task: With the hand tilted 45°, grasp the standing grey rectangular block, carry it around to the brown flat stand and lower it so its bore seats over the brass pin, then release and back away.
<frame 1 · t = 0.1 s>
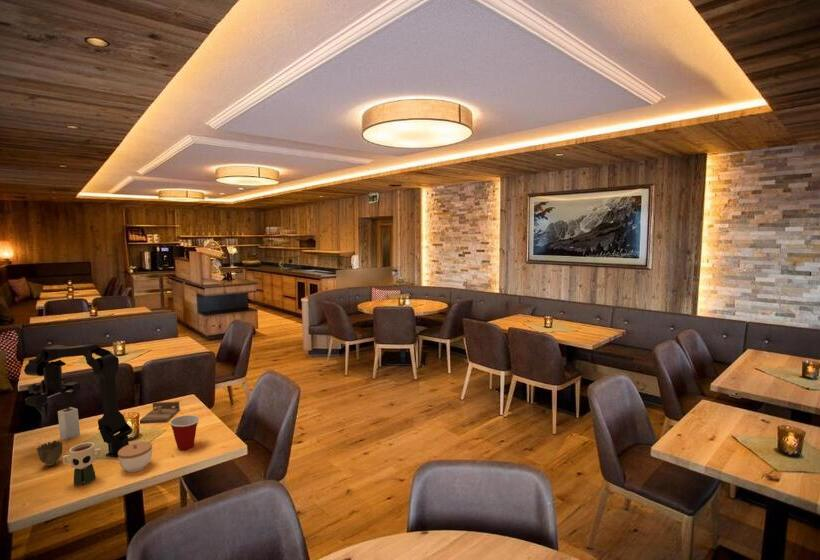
hand: (56, 413, 172), 15 cm above the table, tool pointing down, fingers open, 9 cm apart
character mug: (85, 482, 149), on the table
lidded jar: (136, 468, 158), on the table
brown flat stand: (160, 416, 203), on the table
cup: (51, 465, 160), on the table
plastic cup: (186, 447, 173), on the table
grey rectangular block: (70, 436, 183), on the table
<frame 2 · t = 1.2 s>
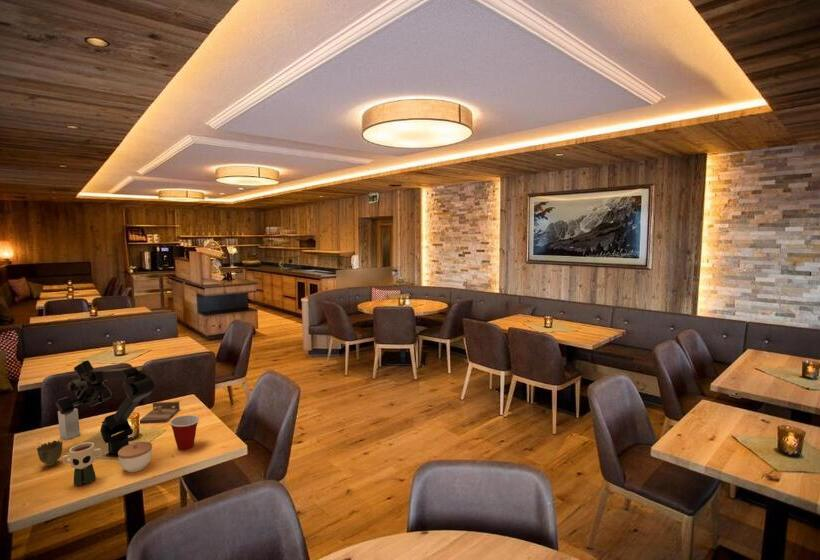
hand: (77, 410, 178), 13 cm above the table, tool tilted 45°, fingers open, 9 cm apart
nothing on the table moved.
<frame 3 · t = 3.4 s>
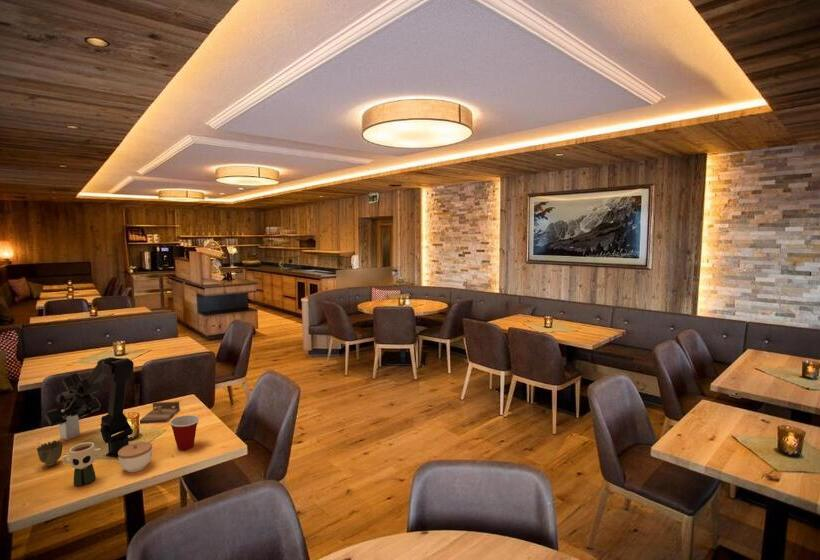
hand: (67, 421, 183), 7 cm above the table, tool tilted 45°, fingers closed on grey rectangular block, 5 cm apart
grey rectangular block: (70, 436, 183), on the table, touching gripper
everything else where it was.
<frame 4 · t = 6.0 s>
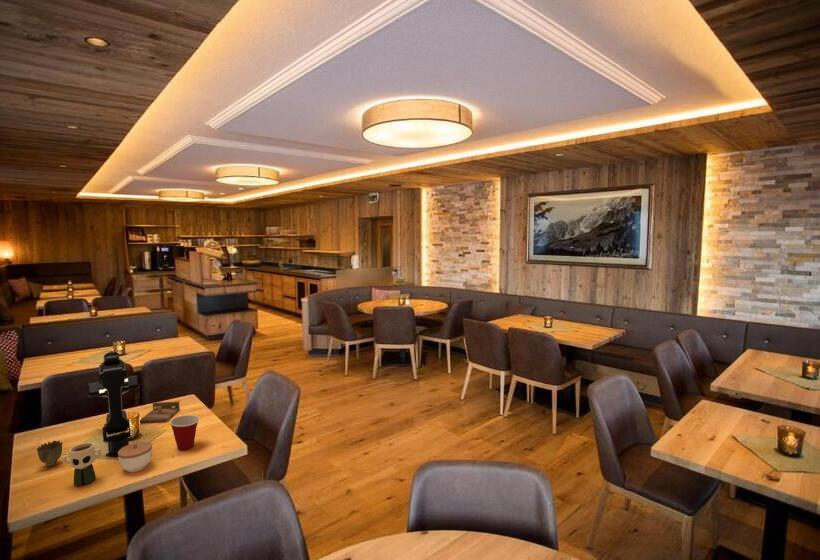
hand: (114, 394, 195), 13 cm above the table, tool tilted 45°, fingers closed on grey rectangular block, 5 cm apart
grey rectangular block: (115, 409, 195), point 7 cm above the table, touching gripper
everything else where it was.
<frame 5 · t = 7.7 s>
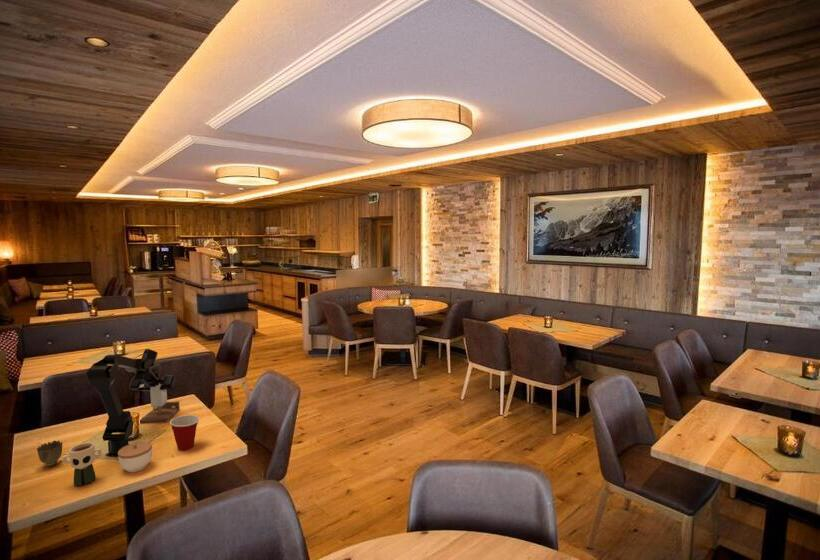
hand: (159, 390, 203), 13 cm above the table, tool tilted 45°, fingers closed on grey rectangular block, 5 cm apart
grey rectangular block: (159, 404, 202), point 6 cm above the table, touching gripper
everything else where it was.
when the fingers open (9 cm above the table, at t = 8.8 s): grey rectangular block stays where it is, resting on brown flat stand.
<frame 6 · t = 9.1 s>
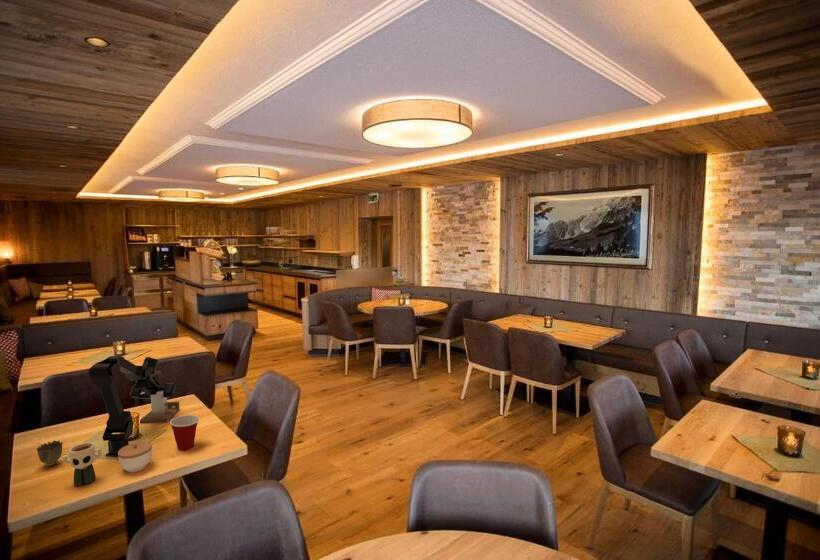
hand: (160, 397, 203), 9 cm above the table, tool tilted 45°, fingers open, 8 cm apart
grey rectangular block: (160, 413, 202), point 2 cm above the table, touching brown flat stand
everything else where it was.
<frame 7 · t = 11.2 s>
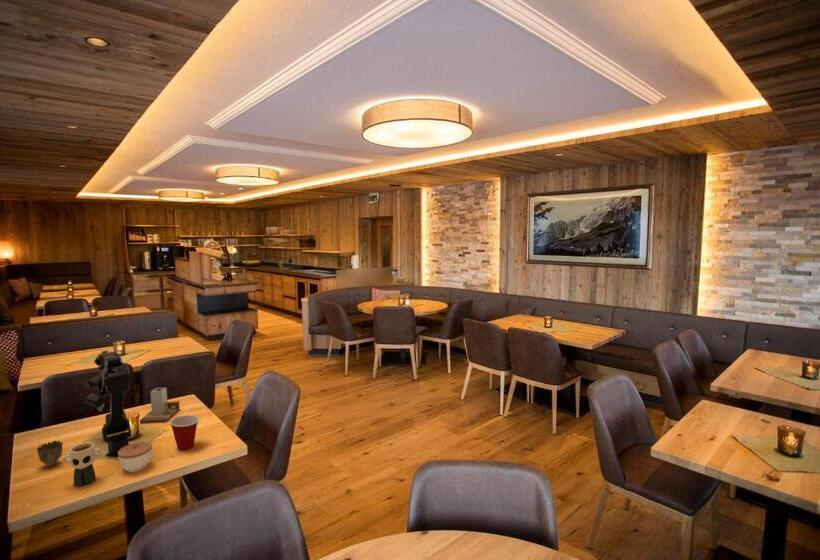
hand: (109, 404, 186), 13 cm above the table, tool tilted 25°, fingers open, 9 cm apart
nothing on the table moved.
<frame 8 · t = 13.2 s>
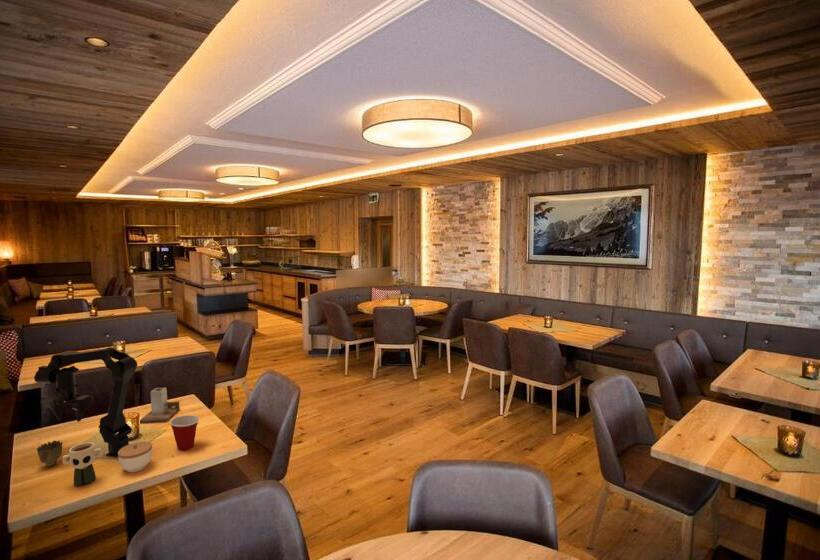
hand: (69, 420, 169), 13 cm above the table, tool pointing down, fingers open, 9 cm apart
nothing on the table moved.
at the end: grey rectangular block 0.1 cm off-centre on the brown flat stand, point 1.5 cm above the brown flat stand's base; grey rectangular block tilted 0°; the gripper is holding nothing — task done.
